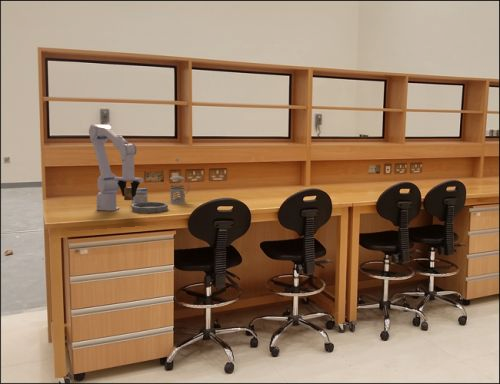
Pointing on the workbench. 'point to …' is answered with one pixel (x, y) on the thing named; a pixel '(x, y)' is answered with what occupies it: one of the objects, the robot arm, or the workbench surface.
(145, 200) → the medicine box
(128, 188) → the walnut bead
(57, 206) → the workbench surface
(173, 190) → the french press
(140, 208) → the round tray
